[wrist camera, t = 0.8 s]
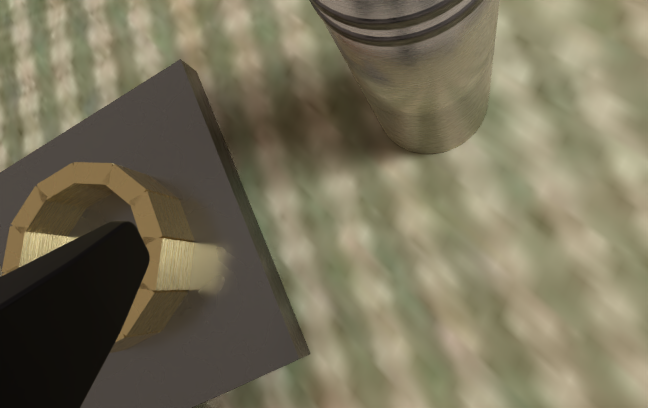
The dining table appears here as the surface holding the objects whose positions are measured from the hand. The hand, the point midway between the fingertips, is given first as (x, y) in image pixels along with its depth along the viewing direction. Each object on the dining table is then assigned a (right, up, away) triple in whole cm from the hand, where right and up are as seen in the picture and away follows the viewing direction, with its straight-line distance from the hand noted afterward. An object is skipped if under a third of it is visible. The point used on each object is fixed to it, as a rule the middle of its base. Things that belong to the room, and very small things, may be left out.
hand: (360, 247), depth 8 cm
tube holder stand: (-10, -2, +17) cm, 20 cm away
